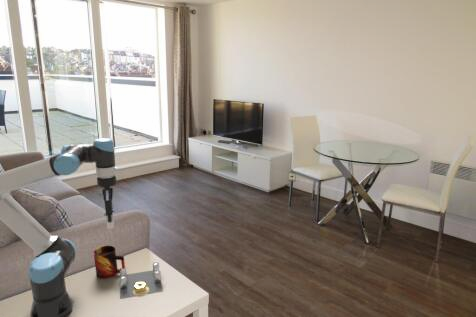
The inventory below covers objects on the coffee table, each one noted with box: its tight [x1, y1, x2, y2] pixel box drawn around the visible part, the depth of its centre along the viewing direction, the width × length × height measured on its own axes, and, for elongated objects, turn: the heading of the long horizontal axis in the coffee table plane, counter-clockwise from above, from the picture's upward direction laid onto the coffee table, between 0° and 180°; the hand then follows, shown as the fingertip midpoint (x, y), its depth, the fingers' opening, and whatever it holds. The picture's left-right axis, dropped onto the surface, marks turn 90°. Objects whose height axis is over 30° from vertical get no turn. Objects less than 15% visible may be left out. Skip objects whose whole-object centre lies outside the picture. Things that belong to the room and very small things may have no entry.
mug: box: [93, 245, 126, 280], centre depth 164 cm, size 10×14×12 cm
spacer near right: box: [154, 269, 162, 283], centre depth 158 cm, size 3×3×5 cm
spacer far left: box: [119, 266, 128, 278], centre depth 160 cm, size 3×3×5 cm
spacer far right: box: [152, 262, 160, 274], centre depth 164 cm, size 3×3×5 cm
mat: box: [119, 269, 164, 300], centre depth 157 cm, size 18×18×1 cm
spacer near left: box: [118, 276, 127, 290], centre depth 154 cm, size 3×3×5 cm
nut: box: [134, 282, 146, 293], centre depth 152 cm, size 5×4×2 cm
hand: (110, 227), depth 148 cm, fingers closed
